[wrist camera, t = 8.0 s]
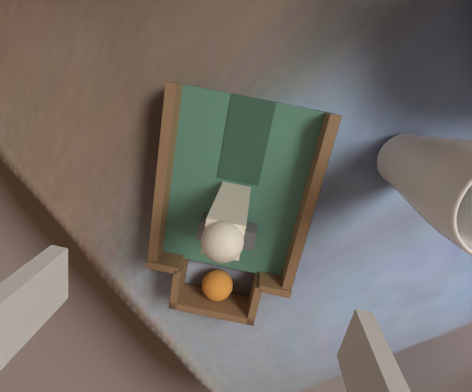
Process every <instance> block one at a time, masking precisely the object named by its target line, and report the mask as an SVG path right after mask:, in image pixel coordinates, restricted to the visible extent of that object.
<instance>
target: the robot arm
mask: <svg viewBox="0 0 472 392" xmlns="http://www.w3.org/2000/svg"><path fill="white" fill-rule="evenodd" d="M67 299H68V248H63V247H59V246H54V245H51V246H49V247H48V248H47V249H45V250H44V251H43V252H41V253H40V254H39V255H37V256H36V257H35V258H33V259H32V260H31V261H29V262H28V263H26V264H25V265H24V266H22V267H21V268H20V269H18V270H17V271H16V272H14V273H13V274H12V275H10V276H9V277H8V278H6V279H5V280H3V281H2V282H1V283H0V371H1V369H2V368H3V367H4V366H5V365H6V364H7V363H8V362H9V361H10V360H11V359H12V358H13V357H14V356H15V354H16V353H17V352H18V351H19V350H20V349H21V348H22V347H23V346H24V345H25V344H26V342H28V340H29V339H30V338H31V337H32V336H33V335H34V334H35V333H36V332H37V331H38V330H39V329H40V327H42V325H43V324H44V323H45V322H46V321H47V320H48V319H49V318H50V317H51V315H53V314H54V313H55V311H56V310H57V309H58V308H59V307H60V306H61V305H62V304H63V303H64V302H65V301H66V300H67ZM337 357H338V361H339V365H340V368H341V372H342V376H343V379H344V383H345V387H346V390H347V392H410V389H409V387H408V385H407V383H406V381H405V379H404V377H403V375H402V373H401V371H400V369H399V367H398V365H397V362H396V360H395V358H394V356H393V354H392V352H391V350H390V348H389V346H388V344H387V342H386V340H385V338H384V336H383V333H382V331H381V329H380V327H379V325H378V323H377V321H376V319H375V317H374V315H373V313H372V312H367V311H362V310H358V309H355V311H354V314H353V316H352V319H351V321H350V324H349V326H348V329H347V331H346V334H345V337H344V339H343V342H342V344H341V347H340V349H339V352H338V354H337Z"/></svg>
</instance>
